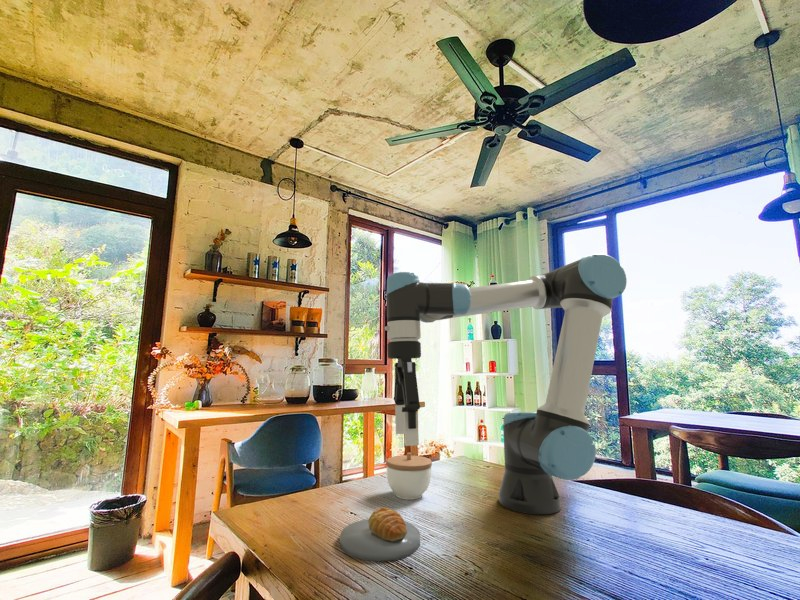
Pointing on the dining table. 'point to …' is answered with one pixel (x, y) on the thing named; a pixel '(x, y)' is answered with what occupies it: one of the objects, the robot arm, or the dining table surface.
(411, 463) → the lidded bowl
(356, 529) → the grey rounded puck
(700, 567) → the dining table surface
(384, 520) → the pastry
